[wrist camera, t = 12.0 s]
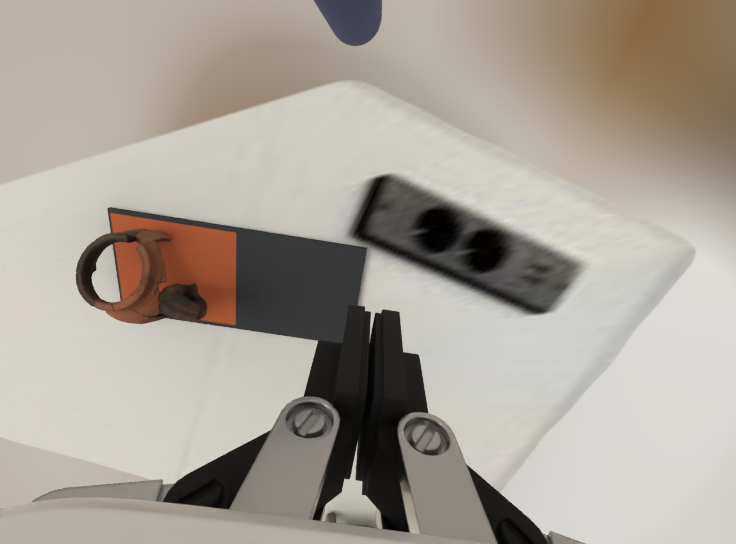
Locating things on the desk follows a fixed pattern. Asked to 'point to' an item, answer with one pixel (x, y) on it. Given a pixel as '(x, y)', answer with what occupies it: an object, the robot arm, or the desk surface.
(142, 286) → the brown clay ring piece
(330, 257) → the desk mat
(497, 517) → the robot arm
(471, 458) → the desk surface
